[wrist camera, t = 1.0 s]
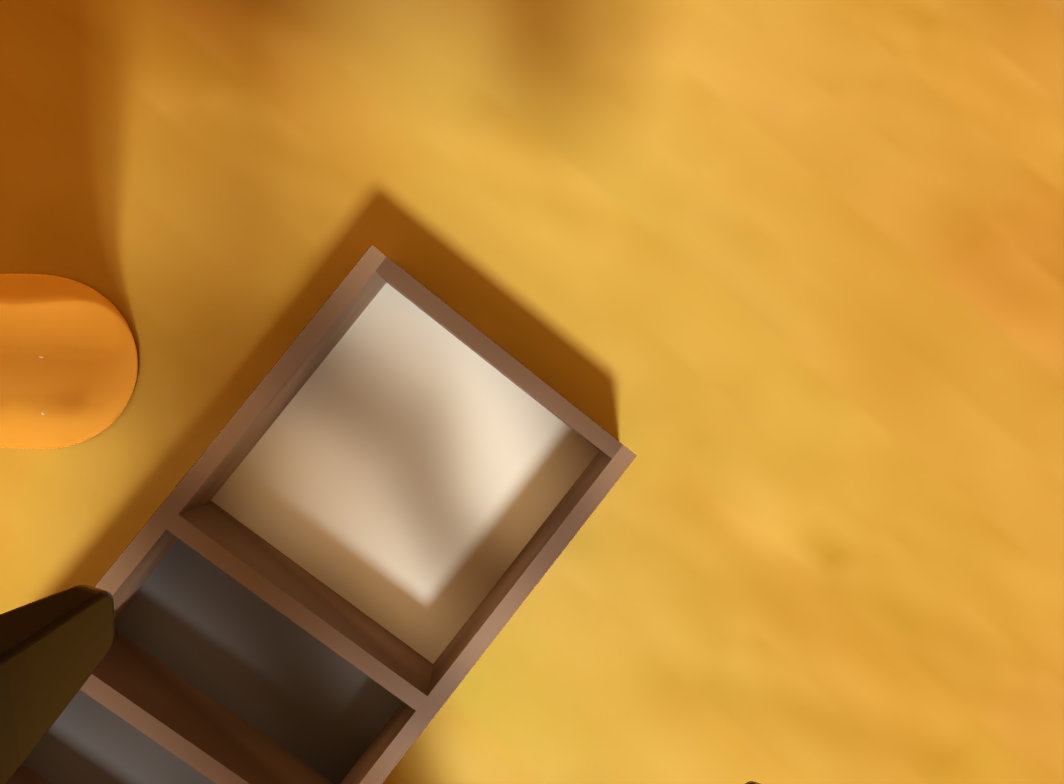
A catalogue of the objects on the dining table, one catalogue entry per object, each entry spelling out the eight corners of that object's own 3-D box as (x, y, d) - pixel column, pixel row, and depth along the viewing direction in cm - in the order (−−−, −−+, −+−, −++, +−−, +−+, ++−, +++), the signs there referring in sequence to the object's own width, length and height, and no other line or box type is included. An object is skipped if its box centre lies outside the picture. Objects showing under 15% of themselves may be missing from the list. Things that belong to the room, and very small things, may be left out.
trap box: (246, 926, 21) (215, 997, 19) (-13, 752, 21) (-81, 803, 18) (619, 447, 22) (636, 455, 20) (385, 260, 21) (371, 244, 19)
